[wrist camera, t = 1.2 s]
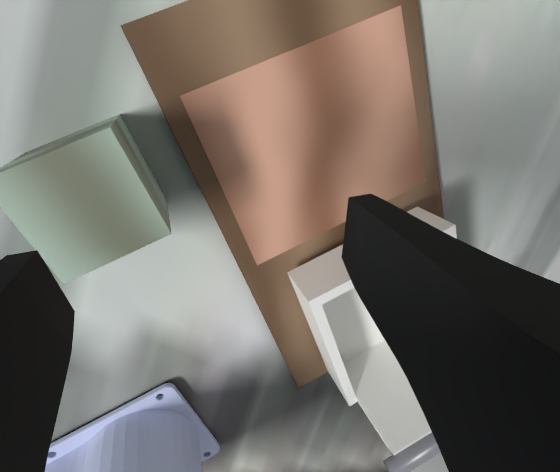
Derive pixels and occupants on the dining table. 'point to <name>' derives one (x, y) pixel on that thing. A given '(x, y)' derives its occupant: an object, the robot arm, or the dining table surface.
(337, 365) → the white open box
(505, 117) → the dining table surface
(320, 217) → the board
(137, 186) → the block
